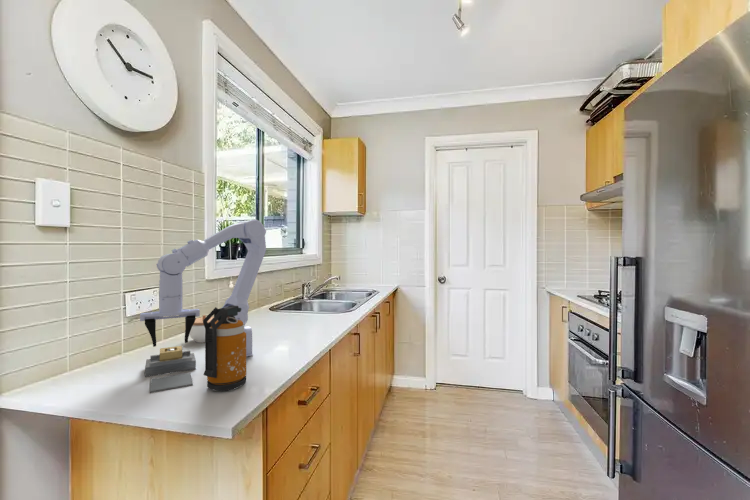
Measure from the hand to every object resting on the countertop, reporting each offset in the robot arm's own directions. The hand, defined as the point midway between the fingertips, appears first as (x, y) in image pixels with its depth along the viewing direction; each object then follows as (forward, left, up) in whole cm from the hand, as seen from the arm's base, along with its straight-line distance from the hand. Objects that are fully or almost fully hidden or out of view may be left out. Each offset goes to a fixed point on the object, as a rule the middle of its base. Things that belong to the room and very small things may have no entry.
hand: (170, 343), depth 98 cm
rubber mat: (0, +12, -7) cm, 14 cm away
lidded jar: (-11, -29, -7) cm, 32 cm away
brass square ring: (0, 0, -5) cm, 5 cm away
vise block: (0, 0, -7) cm, 7 cm away
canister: (-11, +22, -7) cm, 26 cm away
